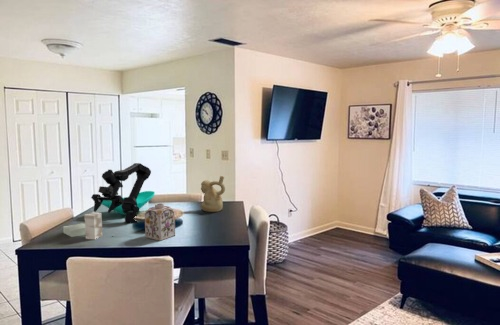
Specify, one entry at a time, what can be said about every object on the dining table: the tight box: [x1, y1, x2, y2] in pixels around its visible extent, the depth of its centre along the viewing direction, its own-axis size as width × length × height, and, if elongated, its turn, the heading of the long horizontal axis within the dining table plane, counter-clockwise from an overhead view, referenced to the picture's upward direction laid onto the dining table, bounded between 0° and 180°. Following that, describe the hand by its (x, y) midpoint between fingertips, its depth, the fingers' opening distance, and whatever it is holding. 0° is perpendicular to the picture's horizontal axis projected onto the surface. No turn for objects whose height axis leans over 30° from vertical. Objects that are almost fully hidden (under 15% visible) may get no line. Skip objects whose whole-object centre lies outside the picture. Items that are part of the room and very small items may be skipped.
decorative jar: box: [144, 202, 176, 242], centre depth 199 cm, size 12×12×18 cm
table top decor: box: [101, 190, 156, 215], centre depth 256 cm, size 40×28×13 cm
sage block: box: [62, 222, 85, 238], centre depth 208 cm, size 12×12×4 cm
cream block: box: [84, 211, 104, 240], centre depth 198 cm, size 6×6×13 cm
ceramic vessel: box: [200, 175, 226, 213], centre depth 262 cm, size 17×20×25 cm
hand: (101, 211), depth 204 cm, fingers open, 9 cm apart
